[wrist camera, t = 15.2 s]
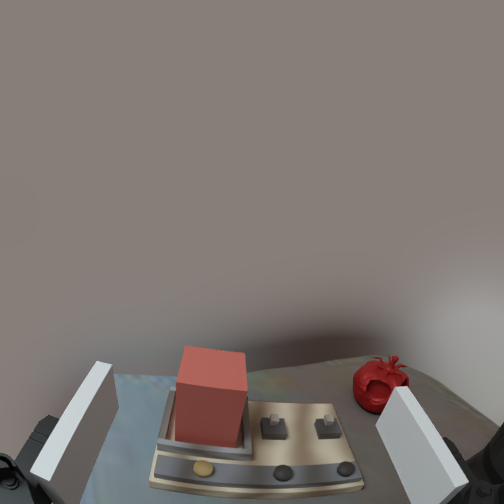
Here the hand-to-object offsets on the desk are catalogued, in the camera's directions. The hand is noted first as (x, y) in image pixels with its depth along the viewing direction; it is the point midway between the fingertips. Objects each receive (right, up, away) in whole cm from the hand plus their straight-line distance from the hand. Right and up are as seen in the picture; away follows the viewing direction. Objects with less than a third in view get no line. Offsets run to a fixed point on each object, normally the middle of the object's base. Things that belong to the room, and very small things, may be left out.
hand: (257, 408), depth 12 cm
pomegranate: (+20, -19, +32) cm, 42 cm away
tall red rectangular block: (-6, -15, +21) cm, 26 cm away
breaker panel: (0, -18, +20) cm, 27 cm away
